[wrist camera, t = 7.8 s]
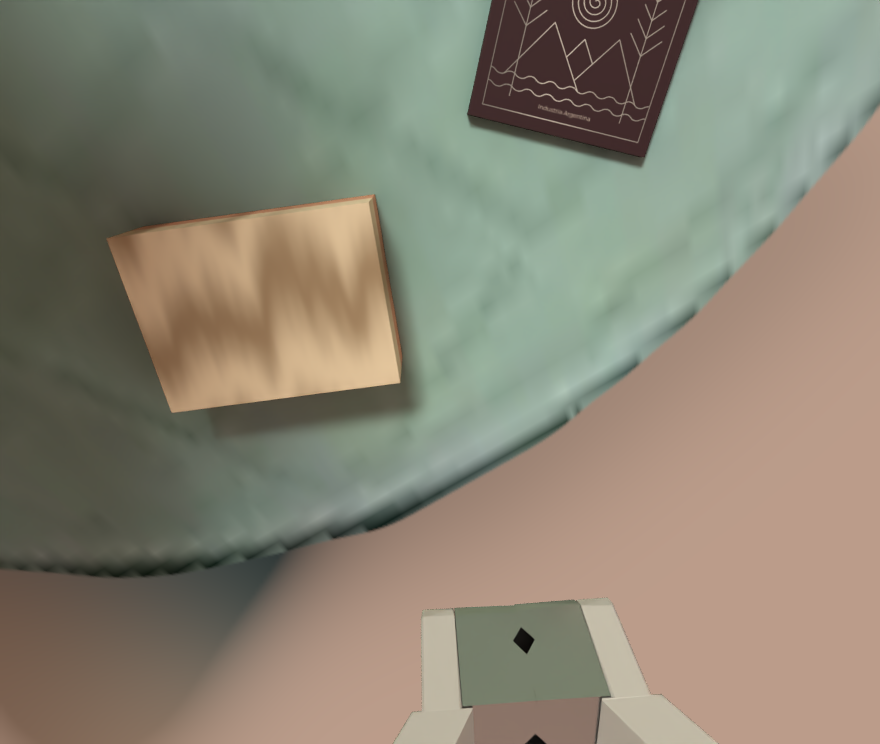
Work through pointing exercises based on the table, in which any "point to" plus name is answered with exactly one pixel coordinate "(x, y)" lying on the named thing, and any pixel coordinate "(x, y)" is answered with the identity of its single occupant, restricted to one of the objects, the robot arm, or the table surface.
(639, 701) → the robot arm
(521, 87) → the chocolate bar
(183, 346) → the tan wooden block
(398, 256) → the table surface
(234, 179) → the table surface
